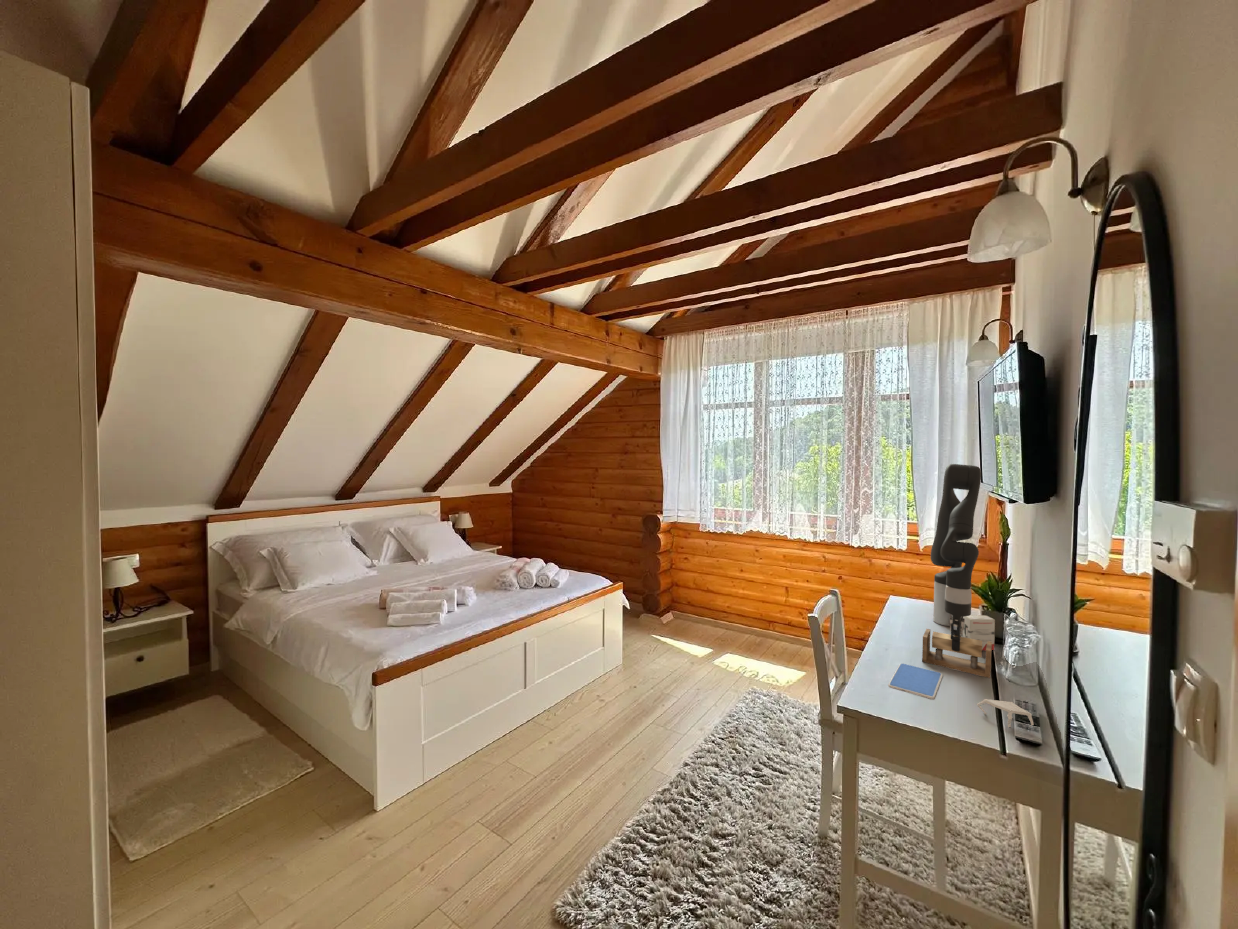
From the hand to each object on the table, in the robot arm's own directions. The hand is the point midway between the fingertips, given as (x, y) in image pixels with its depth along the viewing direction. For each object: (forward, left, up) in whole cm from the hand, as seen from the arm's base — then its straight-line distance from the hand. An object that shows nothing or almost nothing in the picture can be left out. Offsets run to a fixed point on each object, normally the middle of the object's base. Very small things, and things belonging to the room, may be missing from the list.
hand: (956, 647), depth 170 cm
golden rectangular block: (0, 0, -1) cm, 1 cm away
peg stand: (0, 0, -6) cm, 6 cm away
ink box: (-21, +5, -6) cm, 22 cm away
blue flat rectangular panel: (+21, -9, -7) cm, 24 cm away
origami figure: (+32, +14, -6) cm, 35 cm away
